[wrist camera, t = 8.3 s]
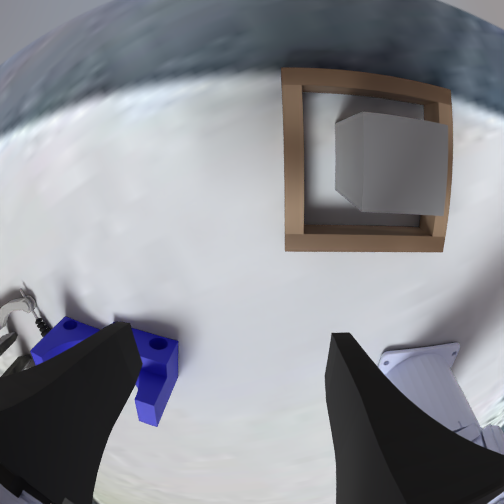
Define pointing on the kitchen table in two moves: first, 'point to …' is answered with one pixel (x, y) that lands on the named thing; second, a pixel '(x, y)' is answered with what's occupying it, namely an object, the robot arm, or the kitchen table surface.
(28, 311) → the bike brake
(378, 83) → the brown square frame
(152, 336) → the cable clip
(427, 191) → the grey block
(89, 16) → the kitchen table surface
